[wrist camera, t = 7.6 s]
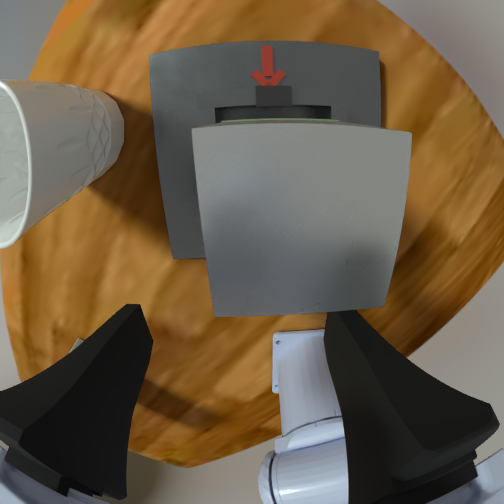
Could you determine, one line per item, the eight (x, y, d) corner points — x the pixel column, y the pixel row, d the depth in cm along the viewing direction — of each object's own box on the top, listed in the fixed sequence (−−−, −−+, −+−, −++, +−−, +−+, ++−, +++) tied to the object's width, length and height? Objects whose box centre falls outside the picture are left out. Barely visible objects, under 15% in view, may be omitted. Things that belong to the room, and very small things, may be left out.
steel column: (322, 207, 12) (385, 307, 6) (233, 210, 13) (213, 318, 6) (324, 118, 10) (413, 130, 4) (227, 120, 11) (188, 126, 4)
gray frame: (364, 245, 20) (389, 280, 15) (176, 252, 20) (157, 290, 16) (372, 53, 13) (407, 40, 9) (154, 57, 13) (123, 42, 9)
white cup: (69, 71, 13) (-35, 70, 4) (152, 102, 15) (54, 101, 6) (39, 164, 16) (-52, 210, 7) (111, 203, 18) (25, 277, 9)
